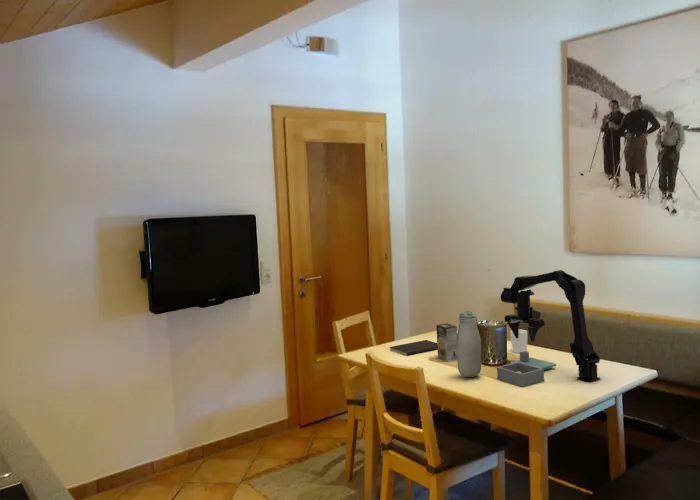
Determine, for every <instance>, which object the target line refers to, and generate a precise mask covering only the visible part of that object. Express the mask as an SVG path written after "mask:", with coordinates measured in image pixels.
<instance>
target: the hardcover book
mask: <svg viewBox="0 0 700 500" xmlns="http://www.w3.org/2000/svg"><path fill="white" fill-rule="evenodd" d="M389 350H390V351H391V352H395V353H397V354H400V355H404V356H406V357H410V356H415V355H420V354H424V353H429V352H430V353H431V352H435V351H438V349H437V342H434V341H431V340H427V339H425V340H419V341H414V342H409V343H403V344H399V345H398V344H397V345H391V346H389Z"/></svg>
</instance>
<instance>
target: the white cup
mask: <svg viewBox="0 0 700 500" xmlns="http://www.w3.org/2000/svg"><path fill="white" fill-rule="evenodd" d="M509 332H510V340H511V350H512V353H514V354H520V352H523V351H526V352H528V330H526V329H519V336H518V338H516V337H515V335H514V334H513V332H512V330H511V329H510V331H509Z"/></svg>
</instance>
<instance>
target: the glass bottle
mask: <svg viewBox="0 0 700 500" xmlns="http://www.w3.org/2000/svg"><path fill="white" fill-rule="evenodd" d="M458 321H459V325H458V328H457V337H456V348H457V360H456V363H457V364H456V365H457V369H458V372H459V374H460V375H461V376H462V377H465V378H474V377H475V378H476V377H478V375H479V374H481V370H482V341H481V340H482V339H481V335H480V332H479V328H478V323H477V322H478V318H477V314H476V312H475V311H473V310H464V311H462V312H460V313H459V317H458Z"/></svg>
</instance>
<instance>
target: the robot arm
mask: <svg viewBox="0 0 700 500" xmlns="http://www.w3.org/2000/svg"><path fill="white" fill-rule="evenodd" d="M550 282H555V283H556V284H557V285H558V287H559V289H560V288H561V290H562V291H564V292H563V293H564V295H565V298H566V299H567V301H568V303H569V306H570V307H569V308H570V313H571V320H572V321H571V322H572V328H573V336H574V340H573V341H571V342H569V347H570V354H571V355H572V357H573V358H574V362H575V364H576V366H578V376H577V377H576V379H577V380H580V381H585V382H588V383H592V382H595V381H598V380H600V379H601V377H598V364H599V363H600V361H601V357H600V356H599V355H598V354H597V352H595V349H594V347H593V346H594V345H593V343H592V342H591V340H590V339H589V337H588V332H587V331H588V330H587V326H586V325H587V323H586V315H585V309H584V299H585V295H586V284H585V282H584V281H583V280H581V279H578V278H576V277H575V276H573V275H571V274H568V273H566V272H565V271H564V270H562V269H559V270H553V271H552V272H548V273H543V274H539V275H522V276H517V277H515V278H514V279H513V283H512V284H511V286H510V287H503V291H502V292H501V294H500V301H501V302H502V303H505V304H512V305H513V304H514V305H515V304H516V306H514V310H516V314H515V313H512V314H506V315H505V316H504V322H505V323H506V324H507V325H508V326H509V328H510V331H511V330H512V332H513V334H514V335H515V337H516V338H518V336H519V330H520V327H519V326H520V324H521V323H523V324H527V325H528V327H527V329H528V330H527V331H528V334H529V339H530V342H531V343H534V342H535V339H536V335H537V333H538V331H539V330H540V328H542V327H545V320H544V319H543V318H541V316H542V312H541V311H537V310H534V308H533V306H531V296H534V295H535V292H534V291H532V290H531V289H530V288H533V287H535V286H537V285H539V284H544V283H550Z"/></svg>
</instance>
